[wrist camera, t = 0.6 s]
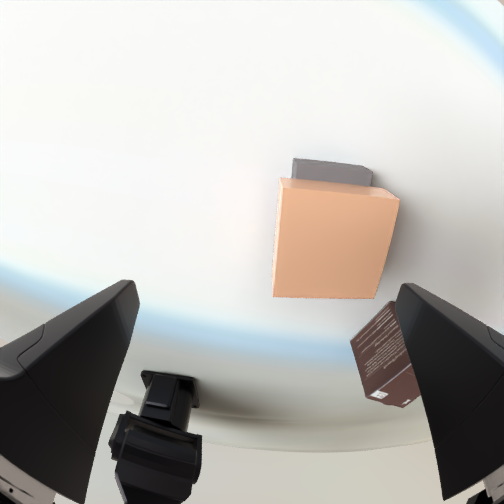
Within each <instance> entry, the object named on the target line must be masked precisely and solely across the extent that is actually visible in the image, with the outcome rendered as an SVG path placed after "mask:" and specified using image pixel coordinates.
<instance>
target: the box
mask: <svg viewBox="0 0 504 504" xmlns="http://www.w3.org/2000/svg"><path fill="white" fill-rule="evenodd" d="M350 343H351V346H352V350H353V353H354V356H355V360H356V363H357V367H358V370H359V374H360V377H361V381H362V385H363V388H364V392H365V397H366V398H367V399H371V400H375V401H379V402H381V403H383V404H385V405H394V406H397V407H401V408H404V407H405V406H407V405H408V404H409V403H411V402H412V401H413V400H414V399H416V398H417V397H418V396H420V395H421V394H420V390H419V387H418V384H417V380H416V377H415V374H414V371H413V368H412V365H411V362H410V359H409V356H408V353H407V350H406V347H405V344H404V340H403V337H402V333H401V329H400V325H399V321H398V317H397V314H396V310H395V303H394V302H392V301H391V302H388V303H387V304H386V305H385V306H384V307H383V308H382V309H381V310H380V311H379V313H378V314H377V315H376V316H375V317H374V318H373V319H372V320H371V321H370V322H369V323H368V324H367V325H366V326H365V327H364V328H363V329H362V330H360V332H359V333H357V334H356V335H355V336H354V337H353V338H352V339H351V340H350Z"/></svg>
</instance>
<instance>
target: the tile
mask: <svg viewBox="0 0 504 504" xmlns="http://www.w3.org/2000/svg"><path fill="white" fill-rule="evenodd" d="M399 203H400V199H398V198H397V197H396V196H394V195H393V194H391V193H390V192H388V191H387V190H385V189H384V188H377V187H370V186H362V185H354V184H345V183H336V182H326V181H315V180H304V179H291V178H279V191H278V205H277V218H276V230H275V242H274V254H273V265H272V290H273V297H291V298H339V299H374V297H375V294H376V291H377V288H378V285H379V282H380V278H381V275H382V272H383V268H384V265H385V261H386V258H387V254H388V250H389V246H390V243H391V239H392V235H393V230H394V226H395V222H396V217H397V213H398V208H399Z"/></svg>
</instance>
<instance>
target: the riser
mask: <svg viewBox="0 0 504 504" xmlns="http://www.w3.org/2000/svg"><path fill="white" fill-rule="evenodd" d="M372 174H373V172H372V171H370V170H369V169H367V168H365V167H363V166H358V165H351V164H343V163H335V162H327V161H317V160H307V159H295V158H293V167H292V179H304V180H315V181H326V182H336V183H345V184H354V185H362V186H370V187H371V180H372Z"/></svg>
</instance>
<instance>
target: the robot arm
mask: <svg viewBox="0 0 504 504" xmlns="http://www.w3.org/2000/svg"><path fill="white" fill-rule="evenodd" d="M139 306H140V302H139V297H138V293H137V289H136V285H135V282H134V281H133V280H121V281H119V282H117V283H115V284H113V285H111V286H110V287H108V288H106V289H104V290H102V291H101V292H99V293H97V294H95V295H93V296H92V297H90V298H88V299H86V300H84V301H83V302H81V303H79V304H77V305H76V306H74V307H72V308H70V309H68V310H67V311H65V312H63V313H62V314H60V315H58V316H56V317H55V318H53V319H51V320H49V321H48V322H46V323H45V324H43V325H41V326H39V327H38V328H36V329H34V330H32V331H31V332H29V333H27V334H25V335H23V336H22V337H20V338H18V339H16V340H14V341H12V342H10V343H9V344H7V345H4V346H3V347H1V348H0V504H55V502H53V501H54V498H55V494H56V493H58V494H60V495H62V496H64V497H66V498H68V499H70V500H72V501H74V502H76V503H79V504H84V502H85V498H86V492H87V488H88V483H89V478H90V474H91V470H92V465H93V461H94V457H95V453H96V452H95V451H96V449H97V445H98V441H99V437H100V433H101V430H102V427H103V423H104V420H105V416H106V413H107V410H108V406H109V403H110V400H111V397H112V394H113V391H114V387H115V384H116V381H117V378H118V376H119V373H120V370H121V367H122V364H123V361H124V358H125V356H126V353H127V350H128V347H129V344H130V341H131V337H132V333H133V329H134V325H135V321H136V318H137V314H138V310H139ZM395 310H396V314H397V317H398V321H399V325H400V329H401V333H402V337H403V340H404V344H405V347H406V350H407V353H408V356H409V359H410V362H411V365H412V368H413V371H414V374H415V377H416V380H417V384H418V387H419V390H420V394H421V397H422V400H423V404H424V408H425V411H426V415H427V419H428V423H429V427H430V431H431V435H432V440H433V444H434V448H435V454H436V459H437V465H438V470H439V475H440V482H441V488H442V497H443V500H444V501H445V500H447V499H449V498H451V497H453V496H455V495H457V494H459V493H461V492H463V491H465V490H467V489H468V488H470V487H472V486H474V485H475V484H477V483H479V482H481V481H482V480H483V482H484V485H485V489H484V490H482V491H481V492H479V493H477V494H476V495H474V496H472V497H471V498H469V499H468V501H467V503H466V504H504V335H502V334H500V333H499V332H497V331H495V330H494V329H492V328H491V327H489V326H486V324H484V323H482V322H481V321H479V320H477V319H476V318H474V317H472V316H470V315H469V314H467V313H465V312H464V311H462V310H460V309H459V308H457V307H455V306H453V305H452V304H450V303H448V302H446V301H445V300H443V299H441V298H439V297H437V296H436V295H434V294H432V293H430V292H429V291H427V290H425V289H423V288H421V287H419V286H418V285H416V284H414V283H404V284H402V285H401V288H400V291H399V294H398V297H397V300H396V303H395ZM141 377H142V380H143V382H144V385H145V387H146V393H145V396H144V399H143V403H142V406H141V409H140V412H139V415H135V414H133V413H131V412H129V411H126V414H120V415H119V418H118V421H117V424H116V426H115V428H114V431H113V433H112V435H111V437H110V440H109V443H108V444H109V446H110V448H111V453H112V457H111V459H113V460H115V461H117V465H116V469H115V479H116V482H117V485H118V487H119V490H120V493H121V495H122V498H123V500H124V504H181V503H182V502H183V501H185V500H186V499H187V498H188V497H189V496H190V495H191V489H192V484H195V483H196V482H197V480H198V477H199V474H200V470H201V461H202V435H198V434H197V435H196V434H192V433H188V432H187V429H188V423H189V418H190V413H191V408H199V400H198V395H197V390H196V385H195V380H194V379H193V378H190V377H182V376H175V375H167V374H161V373H154V372H148V371H142V372H141Z"/></svg>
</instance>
